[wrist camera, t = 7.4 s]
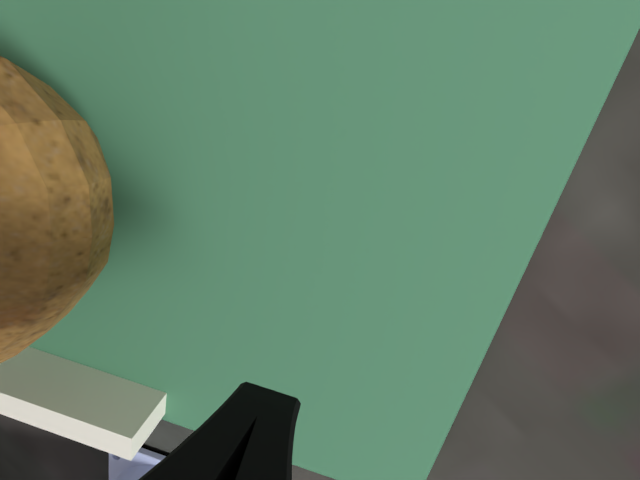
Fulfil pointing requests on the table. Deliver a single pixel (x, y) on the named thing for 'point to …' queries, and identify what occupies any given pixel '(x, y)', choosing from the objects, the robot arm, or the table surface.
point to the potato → (46, 208)
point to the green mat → (320, 196)
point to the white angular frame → (79, 402)
